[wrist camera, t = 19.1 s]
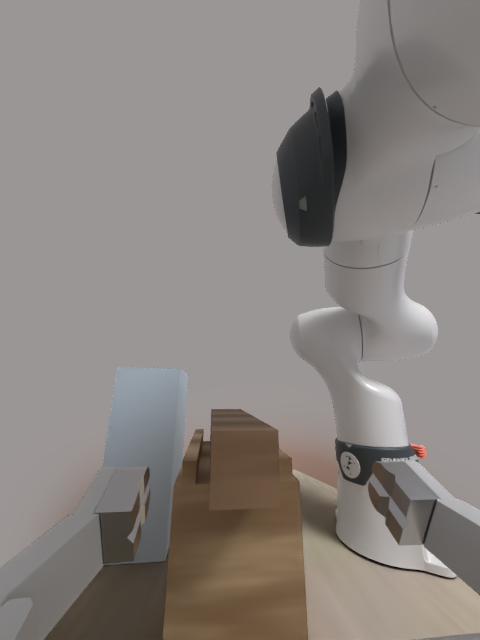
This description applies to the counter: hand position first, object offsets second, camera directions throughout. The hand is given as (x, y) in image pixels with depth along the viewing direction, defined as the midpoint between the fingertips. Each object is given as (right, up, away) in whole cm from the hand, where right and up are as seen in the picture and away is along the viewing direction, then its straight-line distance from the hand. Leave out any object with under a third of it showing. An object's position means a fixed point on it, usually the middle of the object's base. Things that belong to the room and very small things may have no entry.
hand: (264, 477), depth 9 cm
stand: (-17, -29, +32) cm, 47 cm away
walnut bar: (-2, -8, +14) cm, 16 cm away
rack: (-2, -24, +12) cm, 26 cm away
